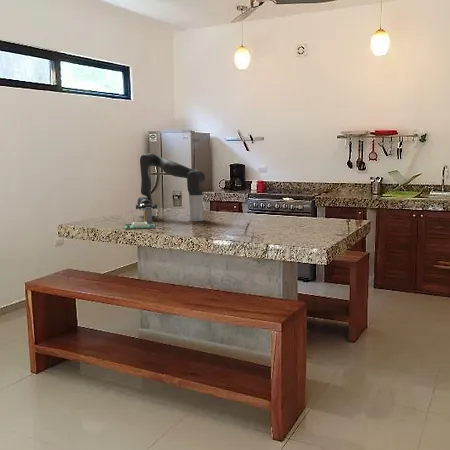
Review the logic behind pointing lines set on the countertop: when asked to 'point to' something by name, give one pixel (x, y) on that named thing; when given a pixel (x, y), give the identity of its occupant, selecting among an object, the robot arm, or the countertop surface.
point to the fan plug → (148, 215)
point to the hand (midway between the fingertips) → (147, 207)
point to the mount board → (139, 225)
